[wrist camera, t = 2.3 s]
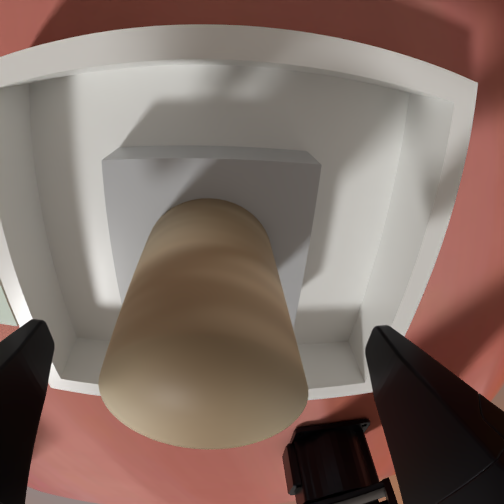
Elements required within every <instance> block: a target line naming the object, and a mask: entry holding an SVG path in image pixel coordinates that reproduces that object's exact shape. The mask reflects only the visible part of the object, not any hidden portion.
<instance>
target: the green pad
mask: <svg viewBox="0 0 504 504" xmlns="http://www.w3.org/2000/svg"><path fill="white" fill-rule="evenodd" d="M0 324H6V325H13V326H18V325H19V324H18V321H17V319H16V317H15V315H14V312H13V310H12V307H11V305H10V302H9V300H8V297H7V295H6V292H5V290H4V287H3V284H2V282H1V279H0Z"/></svg>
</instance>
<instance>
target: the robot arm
mask: <svg viewBox="0 0 504 504" xmlns="http://www.w3.org/2000/svg"><path fill="white" fill-rule="evenodd" d="M54 349H55V344H54V340H53V338H52V335H51V333H50V330H49V328H48V325H47V323H46V322H45V321H44V320H40V319H31V320H30V321H28V322H27V323H25V324H24V325H23V326H21V327H20V328H19V329H17V330H16V331H15V332H13V333H12V334H10V335H9V336H8V337H6V338H5V339H4V340H2V341H1V342H0V504H25V498H26V490H27V483H28V477H29V470H30V464H31V459H32V453H33V448H34V443H35V438H36V434H37V429H38V425H39V421H40V416H41V412H42V408H43V404H44V401H45V396H46V392H47V386H48V380H49V375H50V369H51V364H52V359H53V354H54ZM365 356H366V360H367V365H368V370H369V375H370V380H371V385H372V390H373V395H374V399H375V403H376V407H377V410H378V413H379V416H380V420H381V423H382V426H383V430H384V433H385V437H386V440H387V444H388V447H389V451H390V454H391V458H392V461H393V465H394V469H395V473H396V476H397V480H398V484H399V488H400V492H401V496H402V500H403V504H504V411H502V410H501V409H500V408H498V407H497V406H495V405H494V404H493V403H491V402H490V401H489V400H487V399H486V398H485V397H484V396H482V395H481V394H478V392H477V391H476V390H474V389H473V388H472V387H470V386H469V385H468V384H467V383H465V382H464V381H463V380H461V379H460V378H459V377H457V376H456V375H455V374H453V373H452V372H451V371H449V370H448V369H447V368H445V367H444V366H443V365H442V364H440V363H439V362H438V361H436V360H435V359H434V358H432V357H431V356H430V355H428V354H427V353H426V352H424V351H423V350H422V349H420V348H419V347H418V346H416V345H415V344H414V343H412V342H411V341H409V340H408V339H407V338H405V337H404V336H403V335H401V334H400V333H399V332H397V331H396V330H395V329H393V328H392V327H391V326H389V325H378V326H375V327H374V328H373V329H372V332H371V334H370V337H369V339H368V342H367V344H366V347H365ZM369 425H370V421H369V419H360V420H354V421H348V422H341V423H334V424H326V425H318V426H309V427H300V428H297V429H295V430H294V433H293V435H292V438H291V441H290V443H289V444H288V445H287V446H286V448H285V451H284V453H283V456H282V458H283V464H284V470H285V477H286V483H287V489H288V494H290V495H295V497H296V503H297V504H398V503H397V500H396V497H395V494H394V491H393V488H392V485H391V483H390V480H389V477H388V478H385V479H383V480H382V481H380V482H379V479H378V475H377V472H376V469H375V466H374V463H373V459H372V456H371V453H370V450H369V447H368V444H367V441H366V438H365V435H364V432H365V431H366V429H367V428H368V426H369ZM382 497H386V500H385V501H382V502H379V501H378V499H380V498H382Z"/></svg>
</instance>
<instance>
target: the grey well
mask: <svg viewBox="0 0 504 504" xmlns="http://www.w3.org/2000/svg"><path fill="white" fill-rule="evenodd" d="M477 88H478V83H477V82H475V81H473V80H470V79H468V78H466V77H463V76H461V75H459V74H456V73H454V72H451V71H449V70H446V69H444V68H441V67H438V66H436V65H433V64H430V63H427V62H424V61H422V60H419V59H416V58H413V57H409V56H406V55H403V54H400V53H397V52H393V51H390V50H386V49H383V48H379V47H375V46H371V45H367V44H363V43H359V42H355V41H350V40H346V39H341V38H336V37H331V36H325V35H320V34H314V33H308V32H301V31H294V30H286V29H278V28H268V27H257V26H242V25H217V24H187V25H163V26H149V27H137V28H128V29H120V30H112V31H105V32H99V33H93V34H87V35H82V36H76V37H72V38H67V39H62V40H58V41H54V42H50V43H46V44H42V45H38V46H34V47H31V48H27V49H24V50H20V51H17V52H14V53H11V54H8V55H5V56H2V57H0V279H1V282H2V284H3V287H4V290H5V292H6V295H7V297H8V300H9V302H10V305H11V307H12V310H13V312H14V315H15V317H16V319H17V321H18V324H19V326H20V327H21V326H23V325H24V324H25V323H27V322H28V321H30V320H31V319H40V320H44V321H45V322H46V323H47V325H48V328H49V330H50V333H51V335H52V338H53V340H54V344H55V349H54V354H53V359H52V364H51V369H50V375H49V380H48V383H49V385H50V386H51V388H55V389H60V390H66V391H72V392H78V393H84V394H91V395H98V396H101V395H100V392H99V385H98V383H99V375H100V372H101V368H102V365H103V362H104V359H105V355H106V352H107V349H108V346H109V343H110V340H111V337H112V333H113V330H114V327H115V325H116V322H117V319H118V316H119V313H120V310H121V307H122V304H123V302H124V299H125V296H126V293H127V291H128V288H129V285H130V283H131V280H132V277H133V275H134V272H135V269H136V267H137V264H138V262H139V259H140V257H141V254H142V252H143V249H144V247H145V244H146V242H147V240H148V237H149V235H150V232H151V230H152V228H153V227H154V225H155V224H156V222H157V221H158V220H159V219H160V217H161V216H162V215H164V214H165V213H166V212H167V211H168V210H170V209H171V208H173V207H175V206H177V205H179V204H181V203H183V202H187V201H190V200H194V199H201V198H213V199H221V200H226V201H229V202H232V203H235V204H237V205H239V206H241V207H243V208H244V209H246V210H247V211H249V212H250V213H251V214H253V215H254V216H255V217H256V218H257V219H258V220H259V222H260V223H261V224H262V226H263V227H264V229H265V230H266V232H267V235H268V237H269V240H270V244H271V248H272V251H273V255H274V259H275V262H276V266H277V270H278V274H279V277H280V281H281V285H282V288H283V292H284V296H285V300H286V304H287V307H288V311H289V315H290V319H291V323H292V326H293V330H294V334H295V338H296V342H297V346H298V350H299V353H300V357H301V361H302V365H303V369H304V373H305V377H306V381H307V385H308V400H314V399H325V398H334V397H342V396H350V395H357V394H364V393H371V392H373V390H372V385H371V380H370V375H369V370H368V365H367V360H366V356H365V347H366V344H367V342H368V339H369V337H370V334H371V332H372V329H373V328H374V327H375V326H378V325H389V326H391V327H392V328H393V329H395V330H396V331H397V332H399V333H400V334H401V335H403V336H405V334H406V332H407V330H408V328H409V326H410V323H411V321H412V319H413V317H414V314H415V312H416V310H417V308H418V305H419V303H420V301H421V298H422V296H423V293H424V291H425V288H426V286H427V283H428V281H429V278H430V276H431V273H432V270H433V268H434V265H435V262H436V259H437V257H438V254H439V251H440V248H441V245H442V242H443V239H444V236H445V233H446V230H447V227H448V224H449V220H450V217H451V214H452V210H453V207H454V203H455V200H456V196H457V192H458V188H459V185H460V181H461V177H462V172H463V168H464V164H465V159H466V155H467V150H468V145H469V140H470V135H471V129H472V123H473V117H474V111H475V104H476V96H477Z"/></svg>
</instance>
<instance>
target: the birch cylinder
mask: <svg viewBox="0 0 504 504" xmlns="http://www.w3.org/2000/svg"><path fill="white" fill-rule="evenodd" d="M98 385H99V392H100V395H101V397H102V400H103V402H104V403H105V405H106V407H107V408H108V409H109V410H110V412H111V413H112V414H113V415H114V416H115V417H116V418H117V419H118V420H119V421H121V422H122V423H123V424H125V425H126V426H127V427H129V428H131V429H132V430H134V431H136V432H138V433H140V434H142V435H143V436H146V437H148V438H151V439H153V440H156V441H159V442H162V443H166V444H170V445H174V446H179V447H185V448H193V449H226V448H234V447H240V446H245V445H249V444H253V443H256V442H259V441H262V440H265V439H267V438H270V437H272V436H274V435H276V434H278V433H279V432H281V431H283V430H284V429H286V428H287V427H288V426H290V425H291V424H292V423H293V422H294V421H295V420H296V419H297V418H298V417H299V416H300V415H301V413H302V412H303V410H304V408H305V406H306V404H307V400H308V385H307V381H306V377H305V373H304V369H303V365H302V361H301V357H300V353H299V350H298V346H297V342H296V338H295V334H294V330H293V326H292V323H291V319H290V315H289V311H288V307H287V304H286V300H285V296H284V292H283V288H282V285H281V281H280V277H279V274H278V270H277V266H276V262H275V259H274V255H273V251H272V248H271V244H270V240H269V237H268V235H267V232H266V230H265V229H264V227H263V226H262V224H261V223H260V222H259V220H258V219H257V218H256V217H255V216H254V215H253V214H251V213H250V212H249V211H247V210H246V209H244V208H243V207H241V206H239V205H237V204H235V203H232V202H229V201H226V200H221V199H213V198H201V199H194V200H190V201H187V202H183V203H181V204H179V205H177V206H175V207H173V208H171V209H170V210H168V211H167V212H166V213H165V214H164V215H162V216H161V217H160V219H159V220H158V221H157V222H156V224H155V225H154V227H153V228H152V230H151V232H150V235H149V237H148V240H147V242H146V244H145V247H144V249H143V252H142V254H141V257H140V259H139V262H138V264H137V267H136V269H135V272H134V275H133V277H132V280H131V283H130V285H129V288H128V291H127V293H126V296H125V299H124V302H123V304H122V307H121V310H120V313H119V316H118V319H117V322H116V325H115V327H114V330H113V333H112V337H111V340H110V343H109V346H108V349H107V352H106V355H105V359H104V362H103V365H102V368H101V372H100V375H99V383H98Z"/></svg>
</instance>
